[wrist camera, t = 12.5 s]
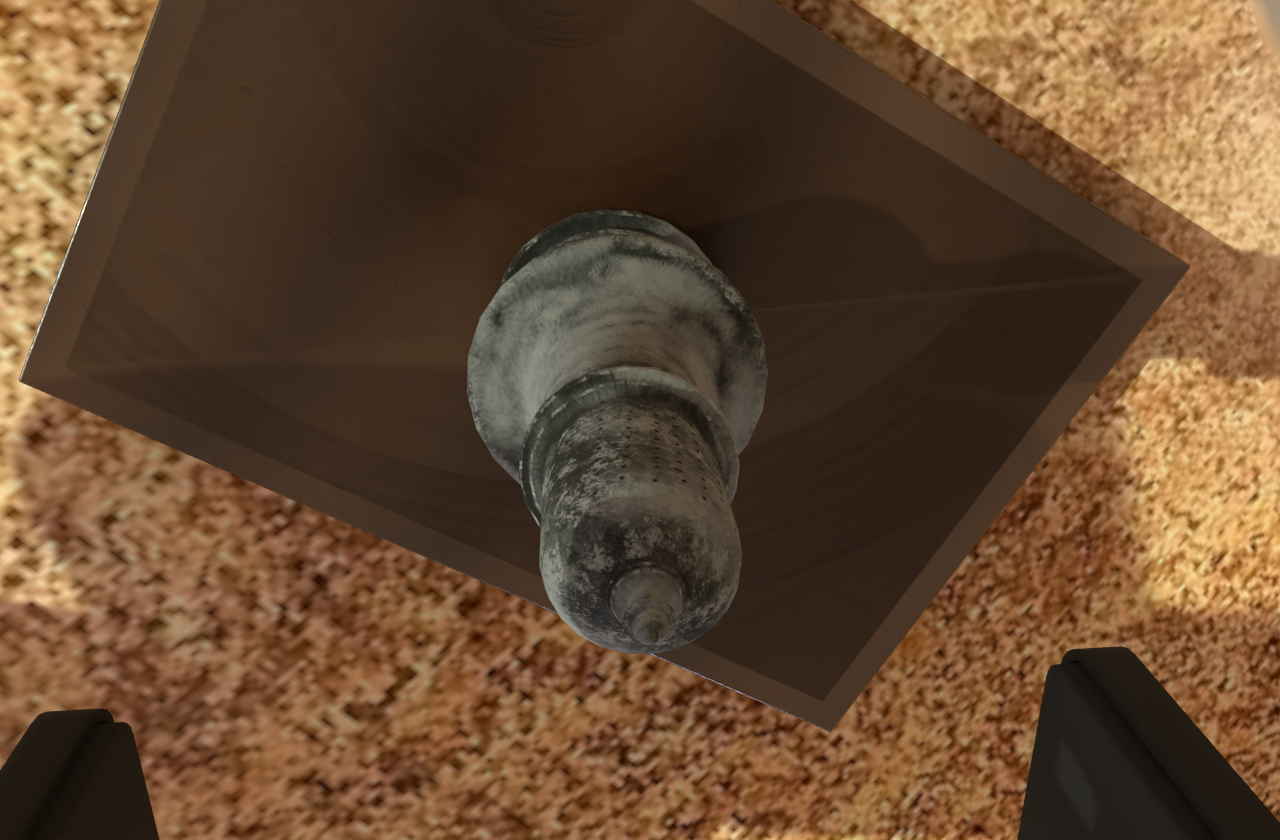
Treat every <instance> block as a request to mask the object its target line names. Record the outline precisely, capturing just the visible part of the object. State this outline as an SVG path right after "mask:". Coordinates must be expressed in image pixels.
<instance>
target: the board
mask: <svg viewBox="0 0 1280 840" xmlns="http://www.w3.org/2000/svg"><path fill="white" fill-rule="evenodd" d="M605 208H606V209H618V210H631V211H638V212H641V213H644V214H647V215H650V216H653V217H655V218H658V219H661V220H664V221H667V222H668V223H670V224H671V225H672V226H674V227H675V228H677V229H678V230H680V231H681V232H682V233H684V234H685V235H687V236H688V237H690V238H691V239H692V240H693V241H694V242H695V243H696V245H697V246H698V247H699V248H700V249H701V251H702V252H703V253H704V254H705V255H706V257H707V258H708V259H709V260H710V261H711V263H712V265H713V266H714V267H716V268H717V269H719V270H720V271H722V272H723V273H724V274H725V275H726V277H727V278H728V279H729V280H730V281H731V283H732V284H733V285H734V286H735V287H736V289H737V290H738V291H739V292H740V293H741V295H742V296H743V297H744V298H745V300H746V301H747V302H748V304H749V306H750V308H751V311H752V313H753V315H754V317H755V320H756V322H757V324H758V327H759V329H760V331H761V334H762V336H763V338H764V346H765V354H766V362H767V369H768V379H767V385H766V392H765V398H764V405H763V411H762V413H761V415H760V418H759V420H758V422H757V424H756V426H755V429H754V431H753V433H752V435H751V438H750V440H749V442H748V444H747V445H746V446H745V448H744V449H743V450H742V451H741V453H740V454H739V455H738V458H739V464H740V467H739V474H738V482H737V489H736V493H735V495H734V498H733V500H732V502H731V504H730V505H731V508H732V511H733V515H734V518H735V521H736V525H737V528H738V531H739V537H740V543H741V550H742V562H741V569H740V577H739V584H738V589H737V591H736V593H735V596H734V598H733V600H732V602H731V604H730V607H729V609H728V610H727V611H726V612H725V614H724V615H723V616H722V617H721V618H720V620H719V621H718V622H717V623H716V624H715V626H714V627H712V628H711V629H710V630H708V631H707V632H705V633H704V634H703V635H701V636H700V637H699V638H697V639H696V640H694V641H692V642H690V643H687V644H685V645H683V646H680V647H678V648H675V649H673V650H671V651H665V652H660V653H654V654H651V655H653V656H655V657H658V658H660V659H662V660H665V661H667V662H669V663H671V664H674V665H676V666H678V667H681V668H683V669H685V670H688V671H690V672H692V673H695V674H697V675H699V676H702V677H704V678H706V679H708V680H711V681H713V682H715V683H718V684H720V685H722V686H725V687H727V688H729V689H732V690H734V691H736V692H739V693H741V694H743V695H745V696H748V697H750V698H752V699H755V700H757V701H759V702H762V703H764V704H766V705H769V706H771V707H773V708H776V709H778V710H780V711H782V712H785V713H787V714H789V715H792V716H794V717H796V718H799V719H801V720H803V721H806V722H808V723H810V724H813V725H815V726H817V727H820V728H822V729H824V730H826V731H829V732H831V731H832V730H833V728H834V727H835V726H836V725H837V723H838V722H839V721H840V719H841V718H842V717H843V716H844V714H845V713H846V712H847V710H848V709H849V708H850V706H851V705H852V704H853V703H854V701H855V700H856V699H857V697H858V696H859V695H860V694H861V692H862V691H863V690H864V688H865V687H866V686H867V684H868V683H869V682H870V681H871V679H872V678H873V677H874V675H875V674H876V673H877V672H878V670H879V669H880V668H881V666H882V665H883V664H884V663H885V661H886V660H887V659H888V657H889V656H890V655H891V653H892V652H893V651H894V650H895V648H896V647H897V646H898V644H899V643H900V642H901V641H902V639H903V638H904V637H905V635H906V634H907V633H908V631H909V630H910V629H911V628H912V626H913V625H914V624H915V622H916V621H917V620H918V619H919V617H920V616H921V615H922V613H923V612H924V611H925V609H926V608H927V607H928V606H929V604H930V603H931V602H932V600H933V599H934V598H935V597H936V595H937V594H938V593H939V591H940V590H941V589H942V588H943V586H944V585H945V584H946V582H947V581H948V580H949V578H950V577H951V576H952V575H953V573H954V572H955V571H956V569H957V568H958V567H959V566H960V564H961V563H962V562H963V560H964V559H965V558H966V556H967V555H968V554H969V553H970V551H971V550H972V549H973V547H974V546H975V545H976V544H977V542H978V541H979V540H980V538H981V537H982V536H983V534H984V533H985V532H986V531H987V529H988V528H989V527H990V525H991V524H992V523H993V522H994V520H995V519H996V518H997V516H998V515H999V514H1000V513H1001V511H1002V510H1003V509H1004V507H1005V506H1006V505H1007V503H1008V502H1009V501H1010V500H1011V498H1012V497H1013V496H1014V494H1015V493H1016V492H1017V491H1018V489H1019V488H1020V487H1021V485H1022V484H1023V483H1024V481H1025V480H1026V479H1027V478H1028V476H1029V475H1030V474H1031V472H1032V471H1033V470H1034V469H1035V467H1036V466H1037V465H1038V463H1039V462H1040V461H1041V460H1042V458H1043V457H1044V456H1045V454H1046V453H1047V452H1048V450H1049V449H1050V448H1051V447H1052V445H1053V444H1054V443H1055V441H1056V440H1057V439H1058V438H1059V436H1060V435H1061V434H1062V432H1063V431H1064V430H1065V428H1066V427H1067V426H1068V425H1069V423H1070V422H1071V421H1072V419H1073V418H1074V417H1075V416H1076V414H1077V413H1078V412H1079V410H1080V409H1081V408H1082V406H1083V405H1084V404H1085V403H1086V401H1087V400H1088V399H1089V397H1090V396H1091V395H1092V394H1093V392H1094V391H1095V390H1096V388H1097V387H1098V386H1099V385H1100V383H1101V382H1102V381H1103V379H1104V378H1105V377H1106V375H1107V374H1108V373H1109V372H1110V370H1111V369H1112V368H1113V366H1114V365H1115V364H1116V363H1117V361H1118V360H1119V359H1120V357H1121V356H1122V355H1123V353H1124V352H1125V351H1126V350H1127V348H1128V347H1129V346H1130V344H1131V343H1132V342H1133V341H1134V339H1135V338H1136V337H1137V335H1138V334H1139V333H1140V331H1141V330H1142V329H1143V328H1144V326H1145V325H1146V324H1147V322H1148V321H1149V320H1150V319H1151V317H1152V316H1153V315H1154V313H1155V312H1156V311H1157V310H1158V308H1159V307H1160V306H1161V304H1162V303H1163V302H1164V300H1165V299H1166V298H1167V297H1168V295H1169V294H1170V293H1171V291H1172V290H1173V289H1174V288H1175V286H1176V285H1177V284H1178V282H1179V281H1180V280H1181V278H1182V277H1183V276H1184V275H1185V273H1186V272H1187V271H1188V269H1189V268H1190V266H1189V264H1188V263H1186V262H1184V261H1183V260H1181V259H1180V258H1178V257H1177V256H1175V255H1173V254H1172V253H1170V252H1169V251H1167V250H1166V249H1164V248H1162V247H1161V246H1159V245H1158V244H1156V243H1154V242H1153V241H1151V240H1150V239H1148V238H1147V237H1145V236H1143V235H1142V234H1140V233H1139V232H1137V231H1136V230H1134V229H1132V228H1131V227H1129V226H1128V225H1126V224H1124V223H1123V222H1121V221H1120V220H1118V219H1117V218H1115V217H1113V216H1112V215H1110V214H1109V213H1107V212H1106V211H1104V210H1102V209H1101V208H1099V207H1098V206H1096V205H1094V204H1093V203H1091V202H1090V201H1088V200H1087V199H1085V198H1083V197H1082V196H1080V195H1079V194H1077V193H1076V192H1074V191H1072V190H1071V189H1069V188H1068V187H1066V186H1064V185H1063V184H1061V183H1060V182H1058V181H1057V180H1055V179H1053V178H1052V177H1050V176H1049V175H1047V174H1046V173H1044V172H1042V171H1041V170H1039V169H1038V168H1036V167H1034V166H1033V165H1031V164H1030V163H1028V162H1027V161H1025V160H1023V159H1022V158H1020V157H1019V156H1017V155H1016V154H1014V153H1012V152H1011V151H1009V150H1008V149H1006V148H1004V147H1003V146H1001V145H1000V144H998V143H997V142H995V141H993V140H992V139H990V138H989V137H987V136H986V135H984V134H982V133H981V132H979V131H978V130H976V129H974V128H973V127H971V126H970V125H968V124H967V123H965V122H963V121H962V120H960V119H959V118H957V117H955V116H954V115H952V114H951V113H949V112H948V111H946V110H944V109H943V108H941V107H940V106H938V105H937V104H935V103H933V102H932V101H930V100H929V99H927V98H925V97H924V96H922V95H921V94H919V93H918V92H916V91H914V90H913V89H911V88H910V87H908V86H907V85H905V84H903V83H902V82H900V81H899V80H897V79H895V78H894V77H892V76H891V75H889V74H888V73H886V72H884V71H883V70H881V69H880V68H878V67H877V66H875V65H873V64H872V63H870V62H869V61H867V60H865V59H864V58H862V57H861V56H859V55H858V54H856V53H854V52H853V51H851V50H850V49H848V48H847V47H845V46H843V45H842V44H840V43H839V42H837V41H835V40H834V39H832V38H831V37H829V36H828V35H826V34H824V33H823V32H821V31H820V30H818V29H817V28H815V27H813V26H812V25H810V24H809V23H807V22H805V21H804V20H802V19H801V18H799V17H798V16H796V15H794V14H793V13H791V12H790V11H788V10H787V9H785V8H783V7H782V6H780V5H779V4H777V3H775V2H774V1H772V0H160V1H159V3H158V6H157V9H156V12H155V14H154V17H153V20H152V22H151V25H150V28H149V30H148V33H147V36H146V38H145V41H144V44H143V47H142V49H141V52H140V55H139V57H138V60H137V63H136V65H135V68H134V71H133V73H132V76H131V79H130V82H129V84H128V87H127V90H126V92H125V95H124V98H123V100H122V103H121V106H120V108H119V111H118V114H117V117H116V119H115V122H114V125H113V127H112V130H111V133H110V135H109V138H108V141H107V143H106V146H105V149H104V152H103V154H102V157H101V160H100V162H99V165H98V168H97V170H96V173H95V176H94V178H93V181H92V184H91V187H90V189H89V192H88V195H87V197H86V200H85V203H84V205H83V208H82V211H81V213H80V216H79V219H78V222H77V224H76V227H75V230H74V232H73V235H72V238H71V240H70V243H69V246H68V248H67V251H66V254H65V257H64V259H63V262H62V265H61V267H60V270H59V273H58V275H57V278H56V281H55V283H54V286H53V289H52V292H51V294H50V297H49V300H48V302H47V305H46V308H45V310H44V313H43V316H42V319H41V321H40V324H39V327H38V329H37V332H36V335H35V337H34V340H33V343H32V345H31V348H30V351H29V354H28V356H27V359H26V362H25V364H24V367H23V370H22V372H21V375H20V378H19V381H20V382H22V383H24V384H26V385H28V386H31V387H33V388H35V389H38V390H40V391H42V392H45V393H47V394H49V395H52V396H54V397H56V398H59V399H61V400H63V401H65V402H68V403H70V404H72V405H75V406H77V407H79V408H82V409H84V410H86V411H89V412H91V413H93V414H96V415H98V416H100V417H102V418H105V419H107V420H109V421H112V422H114V423H116V424H119V425H121V426H123V427H126V428H128V429H130V430H133V431H135V432H137V433H139V434H142V435H144V436H146V437H149V438H151V439H153V440H156V441H158V442H160V443H163V444H165V445H167V446H170V447H172V448H174V449H176V450H179V451H181V452H183V453H186V454H188V455H190V456H193V457H195V458H197V459H200V460H202V461H204V462H207V463H209V464H211V465H213V466H216V467H218V468H220V469H223V470H225V471H227V472H230V473H232V474H234V475H237V476H239V477H241V478H244V479H246V480H248V481H250V482H253V483H255V484H257V485H260V486H262V487H264V488H267V489H269V490H271V491H274V492H276V493H278V494H281V495H283V496H285V497H288V498H290V499H292V500H294V501H297V502H299V503H301V504H304V505H306V506H308V507H311V508H313V509H315V510H318V511H320V512H322V513H325V514H327V515H329V516H331V517H334V518H336V519H338V520H341V521H343V522H345V523H348V524H350V525H352V526H355V527H357V528H359V529H362V530H364V531H366V532H368V533H371V534H373V535H375V536H378V537H380V538H382V539H385V540H387V541H389V542H392V543H394V544H396V545H399V546H401V547H403V548H405V549H408V550H410V551H412V552H415V553H417V554H419V555H422V556H424V557H426V558H429V559H431V560H433V561H436V562H438V563H440V564H442V565H445V566H447V567H449V568H452V569H454V570H456V571H459V572H461V573H463V574H466V575H468V576H470V577H473V578H475V579H477V580H479V581H482V582H484V583H486V584H489V585H491V586H493V587H496V588H498V589H500V590H503V591H505V592H507V593H510V594H512V595H514V596H516V597H519V598H521V599H523V600H526V601H528V602H530V603H533V604H535V605H537V606H540V607H542V608H544V609H547V610H549V611H551V612H554V613H556V614H558V613H557V611H556V609H555V608H554V606H553V604H552V603H551V601H550V599H549V597H548V594H547V592H546V589H545V586H544V582H543V578H542V574H541V570H540V566H539V562H540V537H541V528H540V527H539V525H538V524H537V522H536V520H535V519H534V517H533V515H532V513H531V512H530V510H529V508H528V507H527V505H526V503H525V499H524V495H523V491H522V488H521V485H520V484H519V483H518V482H517V481H516V480H515V479H514V478H513V477H512V476H511V475H510V474H509V473H508V472H507V471H506V470H505V469H504V468H503V467H502V466H501V465H500V464H499V463H498V462H497V461H496V460H495V459H494V458H493V456H492V454H491V453H490V451H489V449H488V447H487V446H486V444H485V442H484V441H483V439H482V437H481V435H480V434H479V432H478V430H477V429H476V426H475V422H474V418H473V414H472V410H471V406H470V402H469V398H468V394H467V374H468V353H469V350H470V347H471V344H472V341H473V338H474V335H475V332H476V329H477V326H478V323H479V320H480V317H481V315H482V314H483V312H484V311H485V309H486V308H487V307H488V305H489V304H490V302H491V301H492V299H493V298H494V296H495V295H496V293H497V292H498V290H499V287H500V284H501V281H502V278H503V275H504V273H505V271H506V270H507V268H508V267H509V265H510V264H511V262H512V261H513V260H514V258H515V257H516V255H517V254H518V252H519V251H520V249H521V248H522V247H523V246H524V245H525V244H527V243H528V242H529V241H530V240H531V239H532V238H534V237H535V236H536V235H537V234H538V233H539V232H541V231H542V230H543V229H544V228H546V227H548V226H550V225H552V224H554V223H556V222H558V221H560V220H563V219H565V218H567V217H569V216H571V215H573V214H578V213H583V212H589V211H594V210H599V209H605ZM558 615H559V614H558Z"/></svg>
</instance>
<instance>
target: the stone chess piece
mask: <svg viewBox="0 0 1280 840" xmlns="http://www.w3.org/2000/svg"><path fill="white" fill-rule="evenodd" d="M767 379H768V369H767V362H766V354H765V346H764V338H763V336H762V334H761V331H760V329H759V327H758V324H757V322H756V320H755V317H754V315H753V313H752V311H751V308H750V306H749V304H748V302H747V301H746V300H745V298H744V297H743V296H742V295H741V293H740V292H739V291H738V290H737V289H736V287H735V286H734V285H733V284H732V283H731V281H730V280H729V279H728V278H727V277H726V275H725V274H724V273H723V272H722V271H720V270H719V269H717V268H716V267H714V266H713V265H712V263H711V261H710V260H709V259H708V258H707V257H706V255H705V254H704V253H703V252H702V251H701V249H700V248H699V247H698V246H697V245H696V243H695V242H694V241H693V240H692V239H691V238H690V237H688V236H687V235H685V234H684V233H682V232H681V231H680V230H678V229H677V228H675V227H674V226H672V225H671V224H670V223H668V222H667V221H664V220H661V219H658V218H655V217H653V216H650V215H647V214H644V213H641V212H638V211H631V210H618V209H606V208H605V209H599V210H594V211H589V212H583V213H578V214H573V215H571V216H569V217H567V218H565V219H563V220H560V221H558V222H556V223H554V224H552V225H550V226H548V227H546V228H544V229H543V230H542V231H541V232H539V233H538V234H537V235H536V236H535V237H534V238H532V239H531V240H530V241H529V242H528V243H527V244H525V245H524V246H523V247H522V248H521V249H520V251H519V252H518V254H517V255H516V257H515V258H514V260H513V261H512V262H511V264H510V265H509V267H508V268H507V270H506V271H505V273H504V275H503V278H502V281H501V284H500V287H499V290H498V292H497V293H496V295H495V296H494V298H493V299H492V301H491V302H490V304H489V305H488V307H487V308H486V309H485V311H484V312H483V314H482V315H481V317H480V320H479V323H478V326H477V329H476V332H475V335H474V338H473V341H472V344H471V347H470V350H469V353H468V374H467V394H468V398H469V402H470V406H471V410H472V414H473V418H474V422H475V426H476V429H477V430H478V432H479V434H480V435H481V437H482V439H483V441H484V442H485V444H486V446H487V447H488V449H489V451H490V453H491V454H492V456H493V458H494V459H495V460H496V461H497V462H498V463H499V464H500V465H501V466H502V467H503V468H504V469H505V470H506V471H507V472H508V473H509V474H510V475H511V476H512V477H513V478H514V479H515V480H516V481H517V482H518V483H519V484H520V485H521V488H522V491H523V495H524V499H525V503H526V505H527V507H528V508H529V510H530V512H531V513H532V515H533V517H534V519H535V520H536V522H537V524H538V525H539V527H540V528H541V537H540V562H539V566H540V570H541V574H542V578H543V582H544V586H545V589H546V592H547V594H548V597H549V599H550V601H551V603H552V604H553V606H554V608H555V609H556V611H557V613H558V614H559V616H560V618H561V619H562V620H563V621H564V622H565V623H566V624H567V625H569V626H570V627H571V628H572V629H573V630H574V631H575V632H576V633H577V634H578V635H580V636H582V637H583V638H585V639H587V640H589V641H591V642H593V643H594V644H596V645H598V646H600V647H604V648H607V649H611V650H615V651H618V652H622V653H631V654H654V653H660V652H665V651H671V650H673V649H675V648H678V647H680V646H683V645H685V644H687V643H690V642H692V641H694V640H696V639H697V638H699V637H700V636H701V635H703V634H704V633H705V632H707V631H708V630H710V629H711V628H712V627H714V626H715V624H716V623H717V622H718V621H719V620H720V618H721V617H722V616H723V615H724V614H725V612H726V611H727V610H728V609H729V607H730V604H731V602H732V600H733V598H734V596H735V593H736V591H737V589H738V584H739V577H740V569H741V562H742V550H741V543H740V537H739V531H738V528H737V525H736V521H735V518H734V515H733V511H732V508H731V505H730V504H731V502H732V500H733V498H734V495H735V493H736V489H737V482H738V474H739V467H740V464H739V458H738V455H739V454H740V453H741V451H742V450H743V449H744V448H745V446H746V445H747V444H748V442H749V440H750V438H751V435H752V433H753V431H754V429H755V426H756V424H757V422H758V420H759V418H760V415H761V413H762V411H763V405H764V398H765V392H766V385H767Z"/></svg>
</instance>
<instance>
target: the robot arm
mask: <svg viewBox="0 0 1280 840" xmlns="http://www.w3.org/2000/svg"><path fill="white" fill-rule="evenodd" d="M0 840H159V836H158V832H157V828H156V824H155V820H154V816H153V812H152V808H151V803H150V799H149V795H148V791H147V787H146V783H145V779H144V775H143V771H142V767H141V763H140V759H139V755H138V751H137V747H136V743H135V739H134V735H133V732H132V729H131V727H130V726H129V725H128V723H125V722H118V723H115V722H114V719H113V716H112V715H111V714H110V712H109V711H108V710H106V709H102V708H100V709H83V710H67V711H50V712H44V713H42V714H39V715H38V716H37V717H36V719H35V720H34V721H33V722H32V723H31V725H30V726H29V728H28V729H27V731H26V732H25V734H24V735H23V737H22V738H21V740H20V741H19V743H18V745H17V746H16V748H15V749H14V751H13V752H12V754H11V755H10V757H9V758H8V760H7V761H6V763H5V764H4V766H3V767H2V769H1V770H0ZM1017 840H1280V822H1279V821H1278V820H1277V819H1276V818H1275V817H1274V815H1273V814H1272V813H1271V812H1270V811H1269V810H1268V808H1267V807H1266V806H1265V805H1264V804H1263V803H1262V801H1261V800H1260V799H1259V798H1258V797H1257V796H1256V795H1255V793H1254V792H1253V791H1252V790H1251V789H1250V788H1249V786H1248V785H1247V784H1246V783H1245V782H1244V781H1243V779H1242V778H1241V777H1240V776H1239V775H1238V774H1237V772H1236V771H1235V770H1234V769H1233V768H1232V767H1231V765H1230V764H1229V763H1228V762H1227V761H1226V760H1225V759H1224V757H1223V756H1222V755H1221V754H1220V753H1219V752H1218V750H1217V749H1216V748H1215V747H1214V746H1213V745H1212V743H1211V742H1210V741H1209V740H1208V739H1207V738H1206V736H1205V735H1204V734H1203V733H1202V732H1201V731H1200V729H1199V728H1198V727H1197V726H1196V725H1195V724H1194V723H1193V721H1192V720H1191V719H1190V718H1189V717H1188V716H1187V714H1186V713H1185V712H1184V711H1183V710H1182V709H1181V707H1180V706H1179V705H1178V704H1177V703H1176V702H1175V700H1174V699H1173V698H1172V697H1171V696H1170V695H1169V693H1168V692H1167V691H1166V690H1165V689H1164V688H1163V687H1162V685H1161V684H1160V683H1159V682H1158V681H1157V680H1156V678H1155V677H1154V676H1153V675H1152V674H1151V673H1150V671H1149V670H1148V669H1147V668H1146V667H1145V666H1144V664H1143V663H1142V662H1141V661H1140V660H1139V659H1138V657H1137V656H1136V655H1135V654H1134V653H1133V652H1132V651H1130V650H1129V649H1128V648H1125V647H1121V646H1120V647H1104V648H1088V649H1072V650H1070V651H1067V653H1066V654H1065V655H1064V657H1063V659H1062V662H1061V664H1056V665H1053V666H1051V667H1050V669H1049V670H1048V673H1047V676H1046V682H1045V687H1044V693H1043V699H1042V704H1041V710H1040V715H1039V721H1038V727H1037V732H1036V738H1035V744H1034V749H1033V755H1032V760H1031V766H1030V772H1029V777H1028V783H1027V789H1026V794H1025V800H1024V806H1023V811H1022V817H1021V822H1020V828H1019V834H1018V839H1017Z"/></svg>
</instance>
